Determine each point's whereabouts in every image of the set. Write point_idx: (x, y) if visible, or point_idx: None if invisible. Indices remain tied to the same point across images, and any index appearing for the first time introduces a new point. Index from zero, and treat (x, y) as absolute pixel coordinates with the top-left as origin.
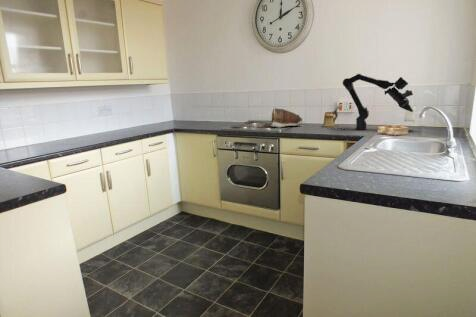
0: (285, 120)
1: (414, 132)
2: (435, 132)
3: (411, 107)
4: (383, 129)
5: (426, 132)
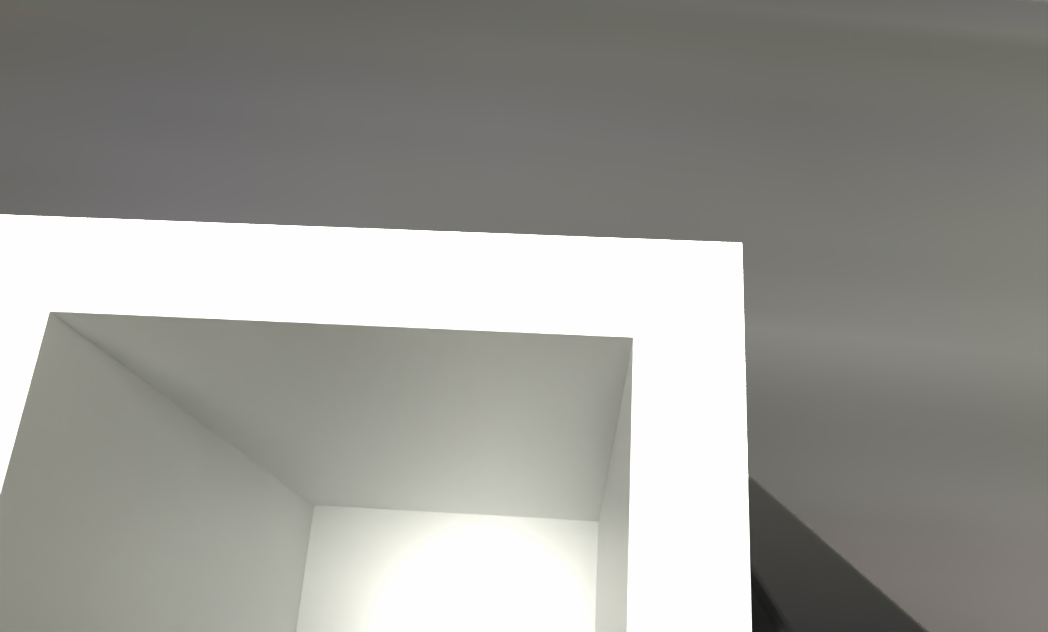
0: None
1: None
2: (629, 83)
3: (9, 512)
4: None
5: None
